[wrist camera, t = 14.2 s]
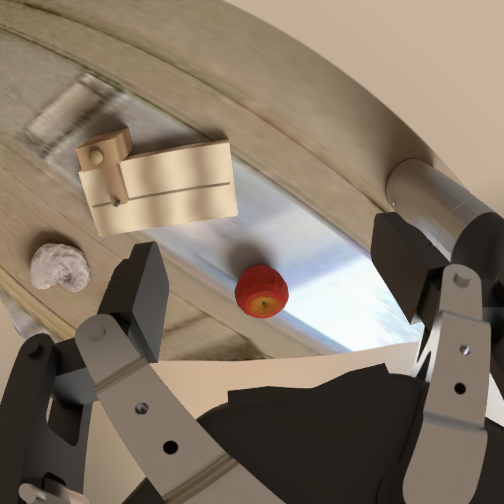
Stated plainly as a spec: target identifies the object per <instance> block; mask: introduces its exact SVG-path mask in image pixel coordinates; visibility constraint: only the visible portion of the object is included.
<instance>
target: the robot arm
mask: <svg viewBox="0 0 504 504" xmlns="http://www.w3.org/2000/svg"><path fill="white" fill-rule="evenodd" d="M386 196H387V200H388V202H389V204H390V205H391V207H392V208H393V209H394V210H395V211H396V212H388V213H378V214H376V216H375V219H374V227H373V235H372V243H371V259H372V262H373V264H374V266H375V268H376V269H377V271H378V272H379V274H380V276H381V277H382V279H383V280H384V282H385V283H386V285H387V287H388V288H389V290H390V292H391V293H392V295H393V296H394V298H395V300H396V301H397V303H398V305H399V306H400V308H401V310H402V311H403V313H404V315H405V316H406V318H407V320H408V322H409V323H410V325H412V324H416V323H419V322H423V324H424V327H423V330H422V333H421V337H420V341H419V346H418V350H417V354H416V358H415V362H414V365H413V369H412V372H411V375H410V376H408V375H403V374H394V373H389V372H388V370H387V367H386V365H385V363H382V364H379V365H375V366H371V367H367V368H362V369H358V370H354V371H349V372H348V373H345V374H343V375H341V376H339V377H337V378H335V379H333V380H330V381H328V382H326V383H324V384H321V385H319V386H317V387H314V388H287V387H271V386H266V387H259V388H250V389H242V390H232V391H228V402H227V403H224V404H221V405H219V406H217V407H215V408H213V409H211V410H209V411H207V412H206V413H204V414H203V415H201V416H200V417H199V418H197V419H196V420H195V419H194V418H193V417H192V416H191V414H190V413H189V412H188V411H187V410H186V409H185V408H184V406H183V405H182V404H181V403H180V402H179V401H178V399H177V398H176V397H175V396H174V395H173V393H171V391H170V390H169V389H168V387H167V386H166V385H165V384H164V383H163V381H162V380H161V379H160V378H159V376H158V375H157V374H156V372H155V371H154V370H153V369H152V367H151V366H150V365H149V363H158V358H159V351H160V344H161V337H162V331H163V324H164V318H165V312H166V306H167V300H168V294H169V282H168V277H167V273H166V270H165V267H164V264H163V261H162V257H161V254H160V251H159V247H158V245H157V243H156V242H155V241H152V242H145V243H139V244H135V245H134V247H133V250H132V252H131V255H130V257H129V259H124V260H123V261H122V262H121V263H120V264H119V265H118V266H117V267H116V268H115V270H114V272H113V274H112V277H111V280H110V282H109V284H108V288H107V289H106V292H105V294H104V297H103V299H102V302H101V304H100V307H99V310H98V312H97V315H95V316H92V317H90V318H88V319H87V320H85V321H84V322H83V323H82V324H81V325H80V326H79V327H78V329H77V331H76V333H75V337H74V338H71V339H68V340H65V341H62V342H59V343H56V344H55V343H54V341H53V340H52V339H51V337H50V336H49V335H47V334H44V333H40V334H36V335H34V336H32V337H30V338H29V339H28V340H26V341H25V342H24V344H23V345H22V347H21V348H20V351H19V353H18V356H17V358H16V360H15V363H14V366H13V368H12V371H11V374H10V377H9V380H8V383H7V386H6V389H5V391H4V395H3V398H2V401H1V404H0V504H90V503H89V501H88V500H87V499H86V498H85V497H84V496H83V483H84V470H85V458H86V449H87V440H88V431H89V424H90V417H91V410H92V404H93V402H94V401H98V400H99V401H100V402H101V404H102V406H103V408H104V410H105V412H106V414H107V415H108V417H109V419H110V421H111V422H112V424H113V426H114V427H115V429H116V431H117V432H118V434H119V436H120V437H121V439H122V441H123V442H124V444H125V445H126V447H127V448H128V450H129V452H130V453H131V455H132V456H133V457H134V459H135V460H136V462H137V463H138V465H139V466H140V468H141V469H142V471H143V472H144V474H145V475H146V477H145V479H144V480H143V481H142V482H141V483H140V484H139V485H138V486H137V487H136V489H135V490H134V491H133V492H132V493H131V494H130V495H129V496H128V497H127V499H125V501H124V502H123V503H122V504H504V427H503V426H501V425H499V424H497V423H495V422H494V421H492V420H490V419H489V418H487V417H485V413H486V405H487V396H488V385H489V373H491V375H492V377H493V379H494V381H495V383H496V385H497V387H498V389H499V391H500V393H501V395H502V397H503V400H504V219H503V218H502V217H501V216H500V215H498V214H497V213H496V212H495V211H493V210H492V209H491V208H490V207H488V206H487V205H486V204H484V203H483V202H482V201H480V200H479V199H478V198H476V197H475V196H474V195H472V194H471V193H470V192H469V191H468V190H466V189H465V188H464V187H462V186H461V185H459V184H458V183H456V182H455V181H453V180H452V179H450V178H449V177H447V176H446V175H444V174H443V173H441V172H440V171H438V170H437V169H435V168H433V167H431V166H430V165H428V164H426V163H425V162H423V161H421V160H418V159H409V160H406V161H404V162H402V163H400V164H399V165H398V166H397V167H396V168H395V169H394V170H393V171H392V173H391V175H390V176H389V179H388V181H387V186H386ZM50 397H51V398H52V399H53V402H52V406H51V410H50V415H49V420H48V424H47V421H46V412H47V408H48V404H49V399H50Z"/></svg>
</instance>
